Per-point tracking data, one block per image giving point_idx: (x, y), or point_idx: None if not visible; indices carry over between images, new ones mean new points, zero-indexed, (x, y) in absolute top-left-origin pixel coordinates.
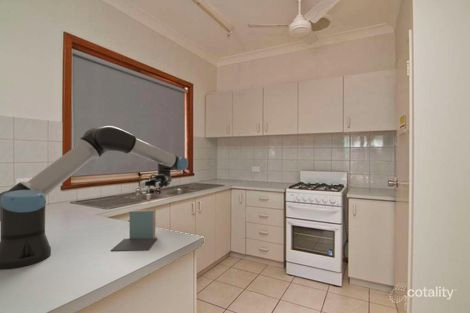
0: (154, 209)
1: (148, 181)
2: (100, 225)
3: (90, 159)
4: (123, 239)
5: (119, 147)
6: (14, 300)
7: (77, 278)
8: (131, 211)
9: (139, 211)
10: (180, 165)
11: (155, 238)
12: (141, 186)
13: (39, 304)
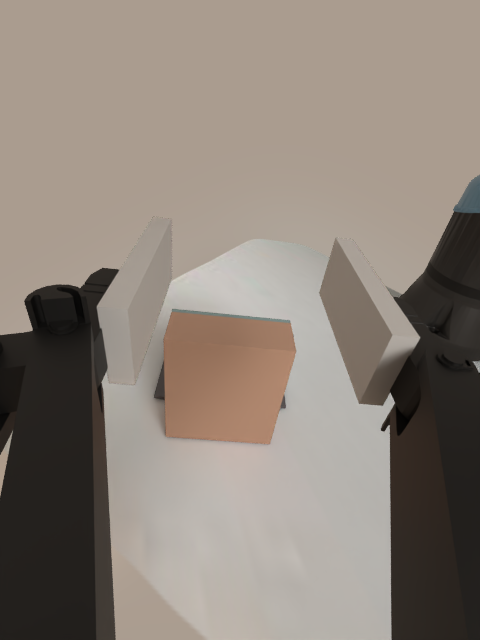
0: (169, 336)
1: (437, 482)
2: None
3: None
4: (284, 399)
5: None
6: (308, 250)
7: (269, 268)
8: (281, 320)
9: (241, 316)
10: None
11: (161, 393)
12: (326, 280)
13: (273, 243)
